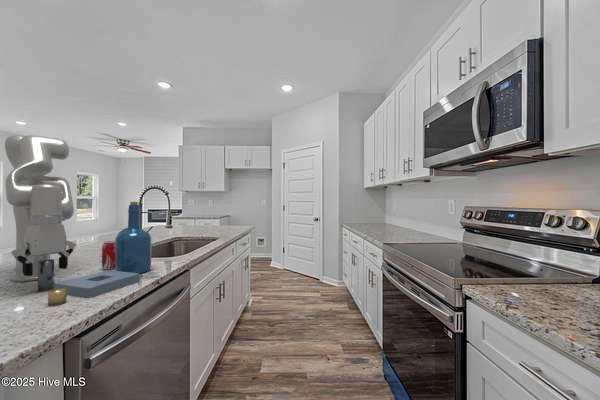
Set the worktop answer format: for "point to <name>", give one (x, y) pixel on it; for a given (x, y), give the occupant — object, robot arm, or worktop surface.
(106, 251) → the soda can
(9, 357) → the worktop surface
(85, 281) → the sleeve block
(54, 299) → the short brass pin
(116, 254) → the wine bottle
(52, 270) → the tall steel pin
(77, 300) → the worktop surface
